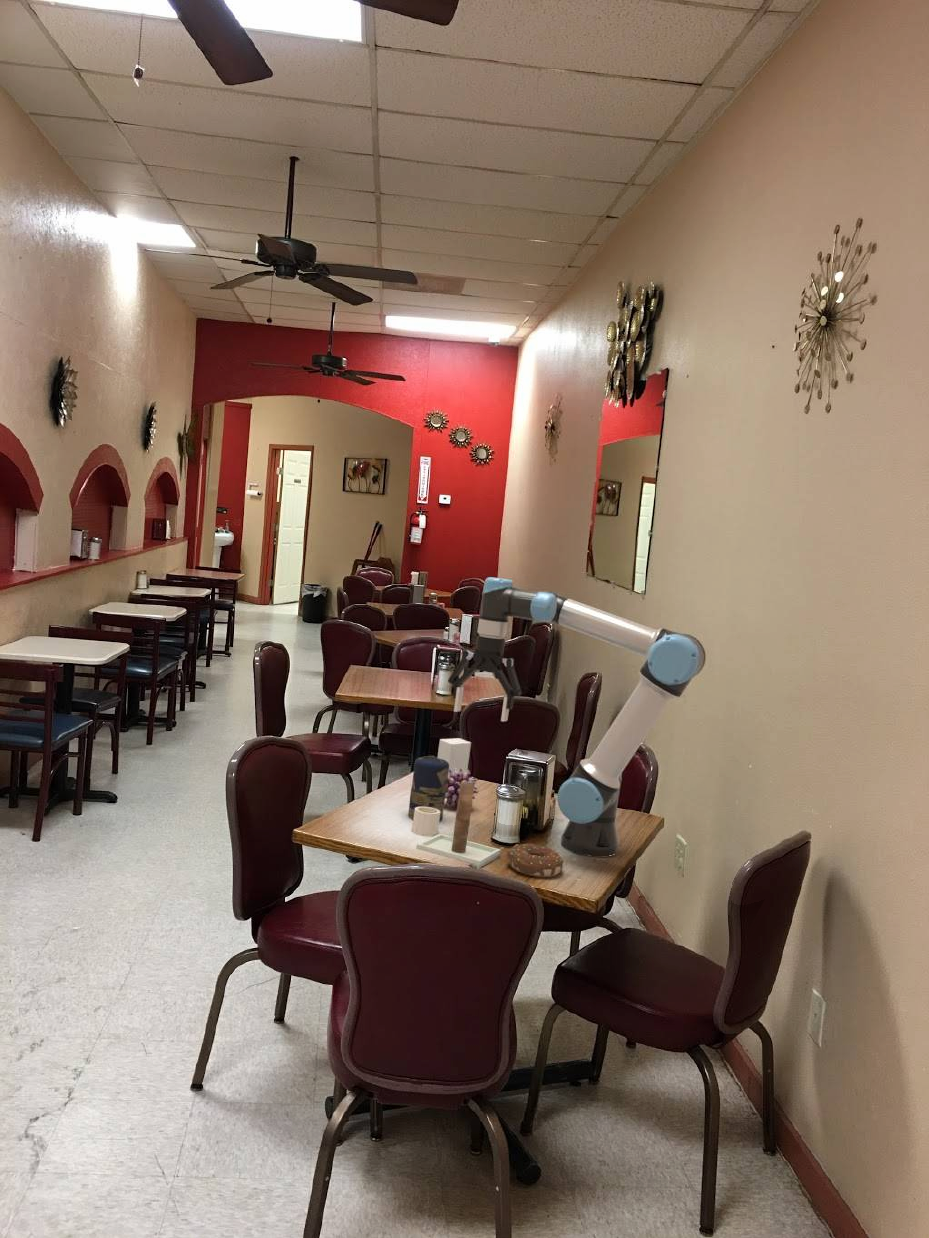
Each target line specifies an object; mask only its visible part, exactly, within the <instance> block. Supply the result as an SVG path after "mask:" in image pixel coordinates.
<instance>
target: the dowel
mask: <svg viewBox="0 0 929 1238" xmlns="http://www.w3.org/2000/svg"><path fill="white" fill-rule="evenodd" d="M475 784H476V783H475ZM475 784H474V783H471V782H461V783H460V790H459V798H458V805H457V808H456V813H455V821H454V829H453V834H452V835H453V836H452V837H453V842H452V851H453V852H456V853H465V852H466V845H467V841H468V835H469V829H470V823H471V822H470V821H471V814H472V812H471V811H472V807H473V801H474V799H473V796H474V794H475V793H474V786H475ZM475 787H476V786H475ZM473 793H474V794H473Z"/></svg>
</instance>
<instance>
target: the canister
mask: <svg viewBox="0 0 929 1238" xmlns="http://www.w3.org/2000/svg"><path fill="white" fill-rule="evenodd" d="M448 772H449V763H448V762H447V761H446V760H443V759H439V758H438V756H437V757H436V756H435V755H428V756H427V755H425V756H421V757H420V756H419V757H417V758H416V759H415V761H414V765H413V773H412V783H411V787H410V788H411V789H410V793H409V794H410V795H409V803H408V804H409V805H408V811H407V812H408V813H407V814H408V818H409V819H411V820H413V818H414V811H415V808H416V807H431V808H435V809H438V810H440V819H439V823H440V822H441V821H442V820H443V817H444V808H445V800H446V798H445V794H446V788H447V780H448Z"/></svg>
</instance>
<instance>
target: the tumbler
mask: <svg viewBox="0 0 929 1238" xmlns="http://www.w3.org/2000/svg"><path fill="white" fill-rule="evenodd" d="M439 819H440V810H438V809H435V808H431V807H416V808H415V811H414V818H413V819H412V820H413V821H412V826H411V832H412V833H414V834H416V835H419V836H426V837H434V836H436V835H438V834H439V825H440V822H439Z"/></svg>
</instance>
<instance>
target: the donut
mask: <svg viewBox="0 0 929 1238" xmlns="http://www.w3.org/2000/svg"><path fill="white" fill-rule="evenodd" d="M506 856H507V862H508V863H509V866H510V867H511V868H512V869H513V870H515V871H517V872H519V873H520V874H523V875H528V876H533V877H539V878H541V877H542V878H551V877H554V876H557V875H558V874H559V873H562V871H563V867H564V860H563V859H564V858H562V856H561V855H560V852H557V851H556V849H554V848H553V849H552V848H551V847H547V846H543V845H541V846H540V845H538V844H533V843H524V844H522V843H520V844H515V845H513V846H512V847H511V848H510V849H509V850H507V851H506Z"/></svg>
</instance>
